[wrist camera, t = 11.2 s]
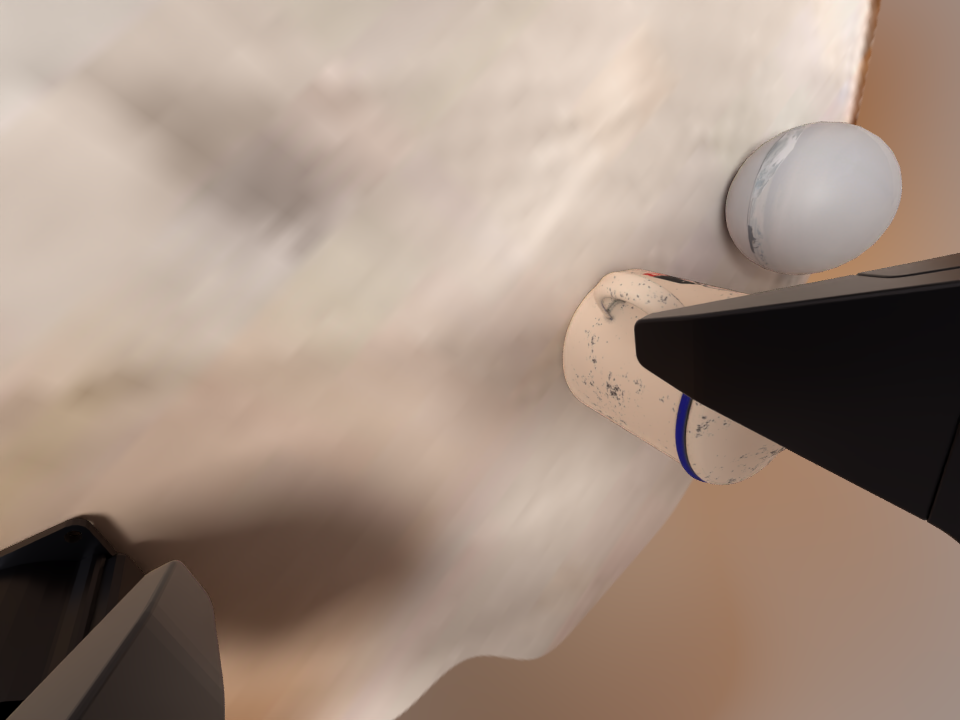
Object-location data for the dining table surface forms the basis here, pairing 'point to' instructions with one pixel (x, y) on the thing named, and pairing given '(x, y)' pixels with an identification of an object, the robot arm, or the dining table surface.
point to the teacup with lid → (654, 378)
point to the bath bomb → (813, 198)
